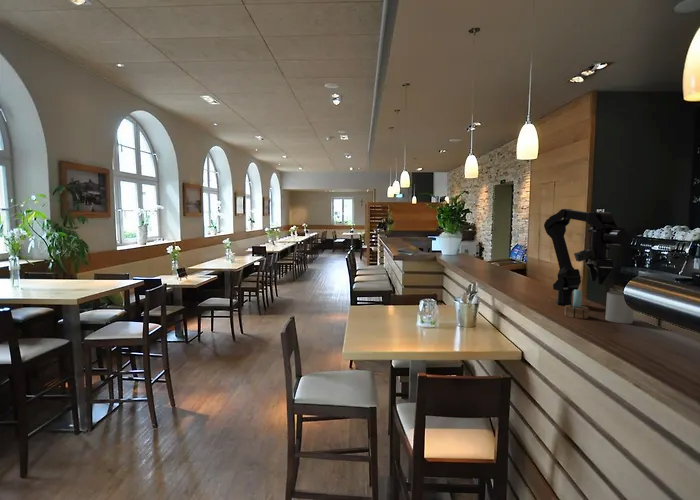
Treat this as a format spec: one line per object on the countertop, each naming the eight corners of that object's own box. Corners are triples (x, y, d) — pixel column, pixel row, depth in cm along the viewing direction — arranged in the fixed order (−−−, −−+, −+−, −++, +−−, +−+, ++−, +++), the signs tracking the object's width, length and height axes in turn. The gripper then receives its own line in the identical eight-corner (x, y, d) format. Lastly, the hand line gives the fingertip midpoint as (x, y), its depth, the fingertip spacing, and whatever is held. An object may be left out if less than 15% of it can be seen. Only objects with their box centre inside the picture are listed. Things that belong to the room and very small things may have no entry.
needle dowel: (571, 314, 157) (573, 289, 157) (579, 315, 157) (581, 289, 156) (573, 316, 155) (574, 290, 154) (581, 317, 154) (583, 291, 153)
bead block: (562, 313, 160) (563, 304, 160) (584, 314, 158) (585, 305, 158) (567, 317, 153) (568, 308, 153) (590, 319, 151) (590, 309, 151)
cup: (626, 318, 153) (627, 292, 152) (637, 324, 145) (639, 296, 144) (601, 317, 155) (603, 291, 154) (611, 322, 147) (613, 295, 146)
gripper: (571, 241, 172) (568, 278, 173) (583, 244, 154) (580, 284, 155) (600, 243, 169) (598, 280, 170) (616, 245, 151) (613, 286, 152)
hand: (596, 282), depth 162 cm, fingers open, 9 cm apart
